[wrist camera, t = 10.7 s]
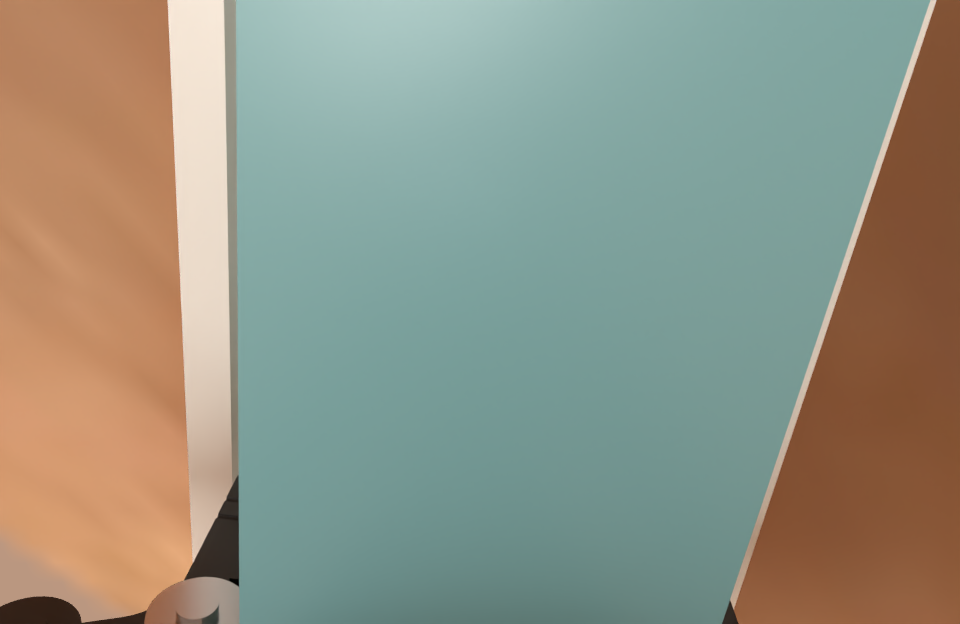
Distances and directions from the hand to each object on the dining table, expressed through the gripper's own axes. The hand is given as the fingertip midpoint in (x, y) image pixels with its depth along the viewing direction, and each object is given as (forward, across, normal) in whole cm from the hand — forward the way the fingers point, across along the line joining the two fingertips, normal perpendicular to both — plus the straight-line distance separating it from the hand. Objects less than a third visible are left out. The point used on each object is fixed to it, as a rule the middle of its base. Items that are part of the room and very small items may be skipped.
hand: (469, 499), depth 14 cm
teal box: (+1, 0, -5) cm, 5 cm away
